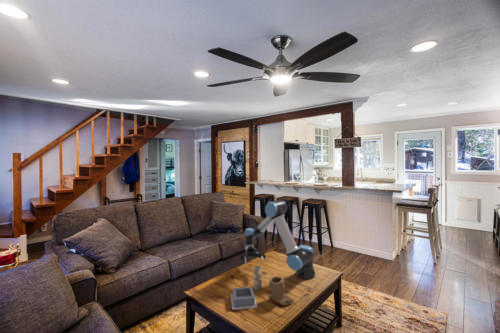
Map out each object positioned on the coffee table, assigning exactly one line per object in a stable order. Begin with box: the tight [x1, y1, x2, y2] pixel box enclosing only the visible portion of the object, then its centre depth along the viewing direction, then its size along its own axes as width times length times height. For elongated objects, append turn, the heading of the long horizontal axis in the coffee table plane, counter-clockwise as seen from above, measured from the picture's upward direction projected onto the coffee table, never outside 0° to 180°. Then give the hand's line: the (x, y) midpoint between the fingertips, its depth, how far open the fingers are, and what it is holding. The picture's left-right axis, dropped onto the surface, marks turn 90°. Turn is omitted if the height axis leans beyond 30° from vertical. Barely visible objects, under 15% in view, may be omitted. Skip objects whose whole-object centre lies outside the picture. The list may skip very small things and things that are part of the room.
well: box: [230, 286, 258, 311], centre depth 159 cm, size 16×16×6 cm
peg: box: [252, 265, 263, 291], centre depth 174 cm, size 6×6×15 cm
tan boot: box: [268, 275, 295, 306], centre depth 159 cm, size 15×12×15 cm
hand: (254, 261), depth 185 cm, fingers open, 13 cm apart
